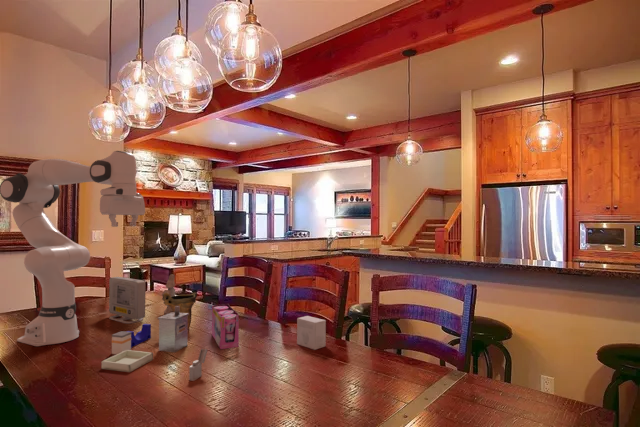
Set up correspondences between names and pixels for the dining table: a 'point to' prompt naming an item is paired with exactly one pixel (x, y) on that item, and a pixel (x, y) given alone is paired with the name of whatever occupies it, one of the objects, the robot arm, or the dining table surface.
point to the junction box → (173, 331)
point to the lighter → (197, 366)
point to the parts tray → (127, 360)
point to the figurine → (169, 291)
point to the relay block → (121, 342)
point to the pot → (181, 303)
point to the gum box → (225, 326)
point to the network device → (127, 299)
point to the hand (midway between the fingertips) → (124, 226)
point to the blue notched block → (141, 335)
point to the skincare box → (311, 332)
